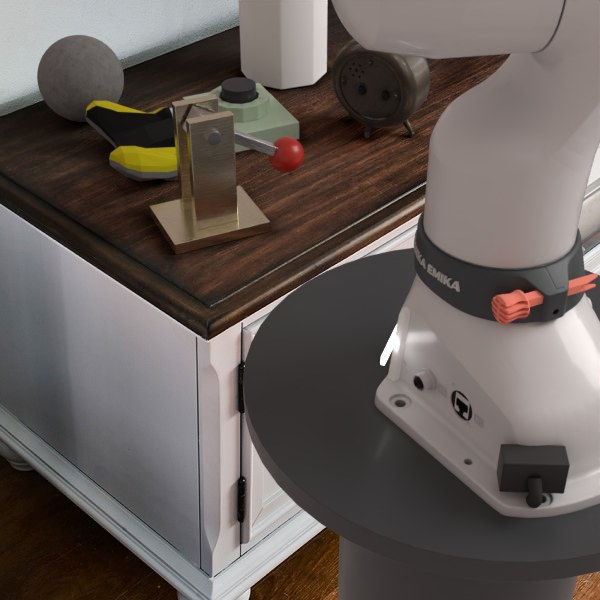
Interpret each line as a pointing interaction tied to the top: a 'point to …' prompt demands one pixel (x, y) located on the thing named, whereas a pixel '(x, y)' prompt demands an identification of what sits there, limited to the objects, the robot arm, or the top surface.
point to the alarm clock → (379, 86)
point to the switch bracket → (206, 183)
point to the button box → (258, 116)
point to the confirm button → (238, 90)
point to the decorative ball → (79, 75)
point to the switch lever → (265, 146)
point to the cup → (283, 41)
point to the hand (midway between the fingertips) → (383, 18)
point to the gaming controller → (137, 140)
